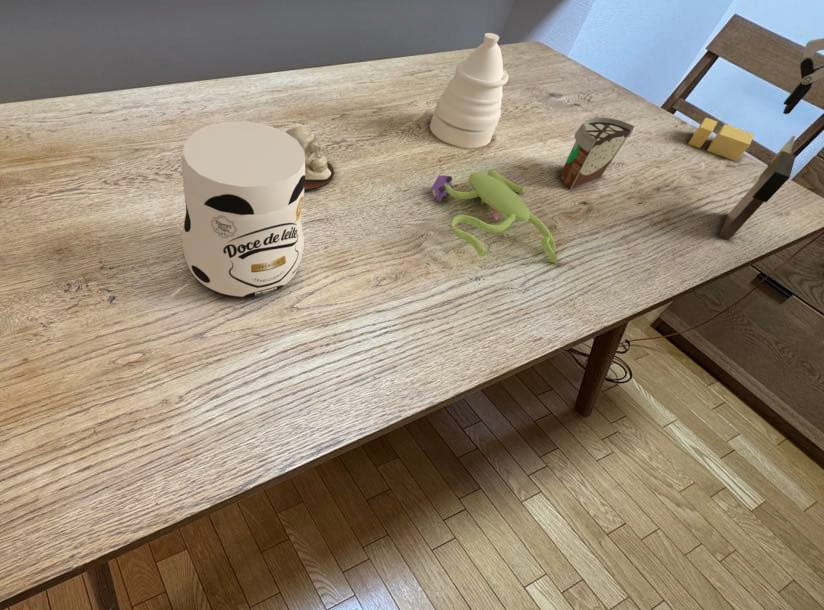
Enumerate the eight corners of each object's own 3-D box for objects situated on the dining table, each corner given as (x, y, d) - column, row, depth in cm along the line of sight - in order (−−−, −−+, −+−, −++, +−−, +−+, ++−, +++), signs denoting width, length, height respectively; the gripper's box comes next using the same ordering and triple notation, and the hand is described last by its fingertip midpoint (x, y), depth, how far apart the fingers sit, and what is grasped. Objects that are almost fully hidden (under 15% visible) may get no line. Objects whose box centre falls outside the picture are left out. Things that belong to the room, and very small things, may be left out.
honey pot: (479, 156, 102) (519, 54, 87) (419, 135, 105) (449, 33, 91) (498, 131, 109) (539, 32, 94) (442, 111, 112) (473, 13, 97)
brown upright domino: (735, 220, 96) (771, 180, 89) (726, 242, 91) (764, 202, 85) (726, 216, 96) (761, 176, 90) (717, 238, 92) (753, 198, 85)
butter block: (739, 152, 112) (754, 134, 108) (734, 163, 109) (750, 144, 106) (710, 142, 114) (724, 123, 110) (705, 152, 111) (719, 133, 107)
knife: (766, 202, 85) (790, 177, 81) (751, 197, 86) (775, 171, 82) (779, 163, 93) (801, 138, 90) (766, 158, 94) (787, 133, 90)
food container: (579, 162, 104) (608, 110, 96) (604, 177, 101) (636, 125, 93) (539, 176, 100) (566, 123, 91) (564, 193, 97) (594, 140, 89)
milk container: (267, 325, 71) (275, 210, 56) (161, 280, 75) (143, 161, 60) (318, 256, 81) (336, 142, 66) (222, 219, 84) (220, 103, 69)
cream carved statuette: (348, 162, 95) (339, 136, 85) (322, 214, 97) (309, 195, 87) (293, 138, 98) (277, 110, 88) (268, 189, 99) (251, 168, 90)
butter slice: (704, 139, 114) (717, 121, 111) (698, 150, 111) (712, 131, 108) (692, 135, 115) (705, 117, 111) (686, 145, 112) (700, 127, 108)
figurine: (447, 272, 81) (460, 242, 76) (420, 176, 96) (429, 147, 92) (560, 278, 82) (579, 249, 77) (515, 183, 97) (529, 154, 93)
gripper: (1027, -2, 64) (884, 135, 78) (871, -41, 69) (763, 94, 83) (1034, 12, 60) (883, 154, 74) (869, -30, 65) (756, 110, 79)
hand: (820, 122), depth 79 cm, fingers open, 9 cm apart
